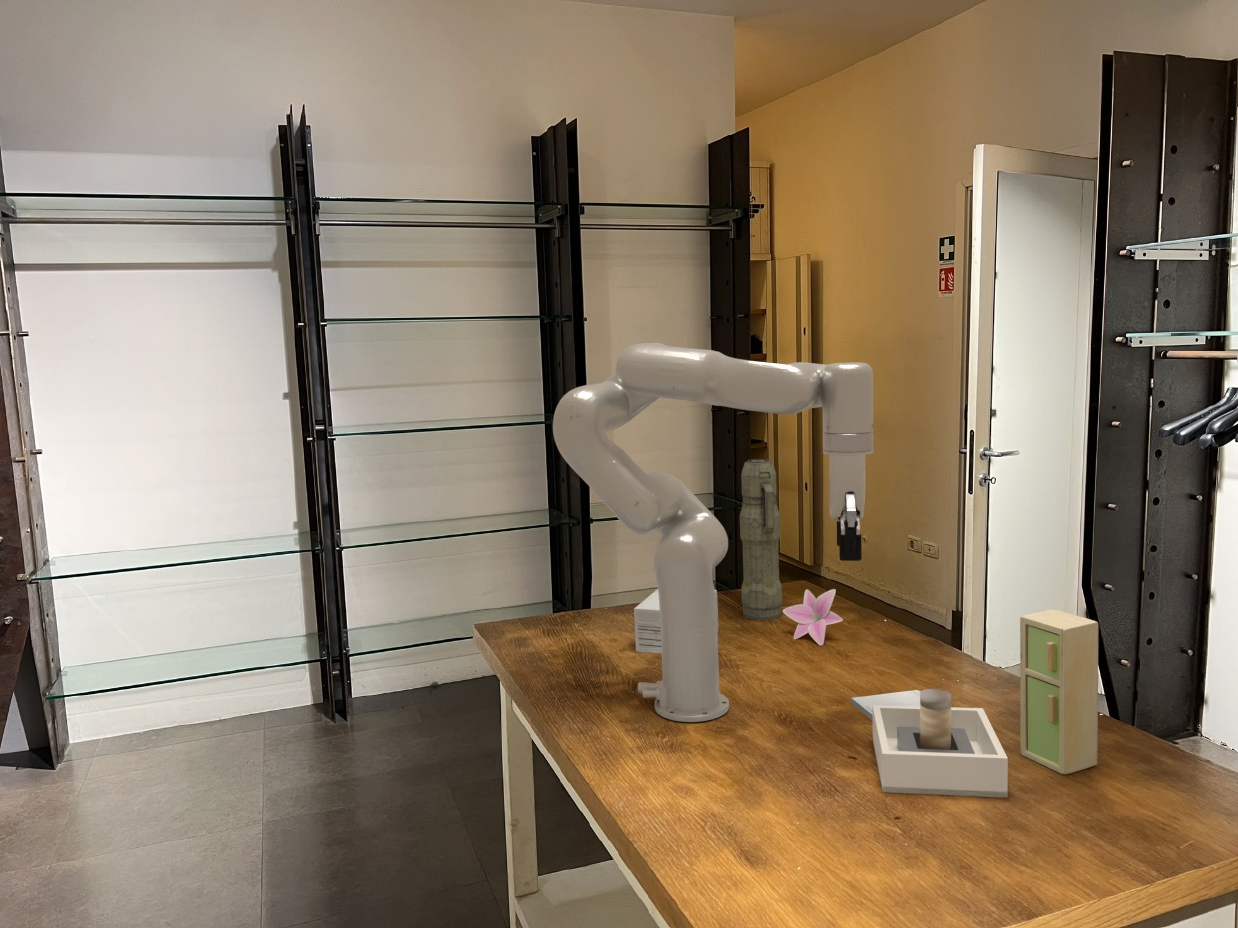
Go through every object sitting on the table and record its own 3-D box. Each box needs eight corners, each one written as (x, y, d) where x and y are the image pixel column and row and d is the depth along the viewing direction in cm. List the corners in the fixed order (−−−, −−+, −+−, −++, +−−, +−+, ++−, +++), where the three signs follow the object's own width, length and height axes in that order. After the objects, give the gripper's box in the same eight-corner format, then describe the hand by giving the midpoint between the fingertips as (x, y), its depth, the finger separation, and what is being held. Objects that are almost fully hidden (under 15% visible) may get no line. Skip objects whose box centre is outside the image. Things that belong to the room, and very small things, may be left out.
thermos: (758, 624, 204) (754, 465, 199) (732, 610, 215) (727, 459, 210) (793, 618, 207) (790, 461, 203) (765, 605, 218) (761, 456, 213)
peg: (921, 766, 132) (922, 699, 131) (917, 753, 137) (918, 688, 135) (952, 768, 132) (953, 700, 130) (948, 755, 136) (948, 689, 134)
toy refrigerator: (1014, 755, 137) (1016, 615, 134) (1051, 744, 140) (1054, 607, 137) (1059, 777, 129) (1062, 630, 127) (1097, 765, 132) (1101, 621, 130)
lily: (780, 634, 200) (771, 602, 194) (823, 606, 203) (816, 574, 197) (814, 666, 190) (807, 633, 185) (860, 637, 193) (854, 604, 188)
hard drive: (873, 715, 150) (942, 705, 153) (849, 696, 158) (916, 687, 161) (873, 725, 151) (942, 715, 153) (849, 706, 159) (916, 696, 161)
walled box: (882, 791, 127) (882, 753, 127) (872, 739, 144) (872, 705, 143) (1007, 797, 124) (1007, 758, 124) (982, 743, 141) (982, 708, 140)
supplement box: (660, 627, 206) (659, 585, 204) (719, 631, 201) (717, 589, 200) (634, 652, 190) (632, 607, 189) (696, 657, 185) (695, 611, 184)
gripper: (821, 437, 153) (822, 540, 155) (824, 451, 136) (825, 566, 138) (869, 436, 151) (869, 540, 153) (877, 450, 134) (878, 566, 137)
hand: (848, 552), depth 146 cm, fingers open, 9 cm apart
